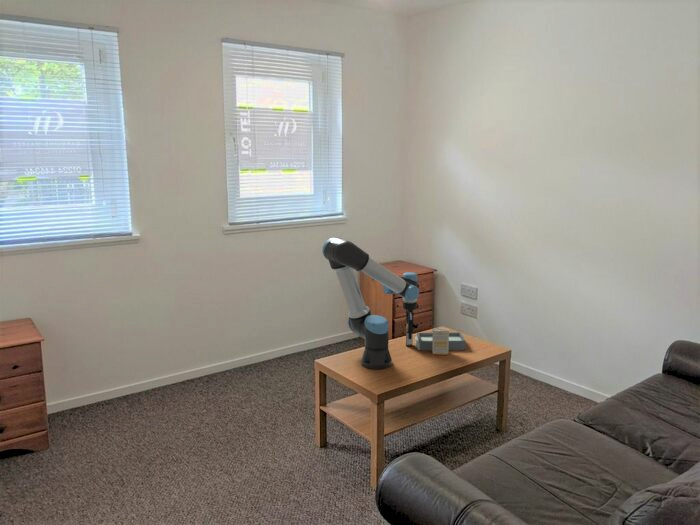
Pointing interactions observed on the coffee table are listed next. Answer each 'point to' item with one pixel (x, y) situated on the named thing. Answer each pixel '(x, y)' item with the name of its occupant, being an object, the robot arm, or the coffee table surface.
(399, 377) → the coffee table surface
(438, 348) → the supplement box
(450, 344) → the box
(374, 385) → the coffee table surface
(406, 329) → the peg
